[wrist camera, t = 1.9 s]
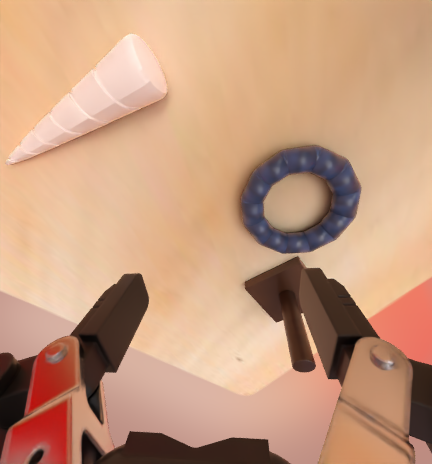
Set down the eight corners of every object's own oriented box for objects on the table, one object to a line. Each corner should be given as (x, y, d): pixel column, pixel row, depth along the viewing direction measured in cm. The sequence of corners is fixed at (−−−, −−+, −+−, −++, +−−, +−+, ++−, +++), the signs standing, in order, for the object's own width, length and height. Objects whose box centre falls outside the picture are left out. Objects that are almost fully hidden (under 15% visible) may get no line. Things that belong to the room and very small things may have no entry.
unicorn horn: (-15, 133, 25) (-65, 137, 21) (153, 39, 19) (128, 19, 15) (15, 170, 27) (-25, 181, 23) (174, 97, 21) (158, 93, 17)
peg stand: (298, 256, 29) (326, 330, 19) (326, 295, 32) (363, 377, 22) (244, 282, 33) (245, 356, 23) (275, 315, 36) (287, 393, 26)
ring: (322, 117, 21) (331, 117, 18) (370, 212, 25) (383, 222, 23) (221, 191, 26) (218, 198, 23) (275, 260, 30) (278, 272, 28)
